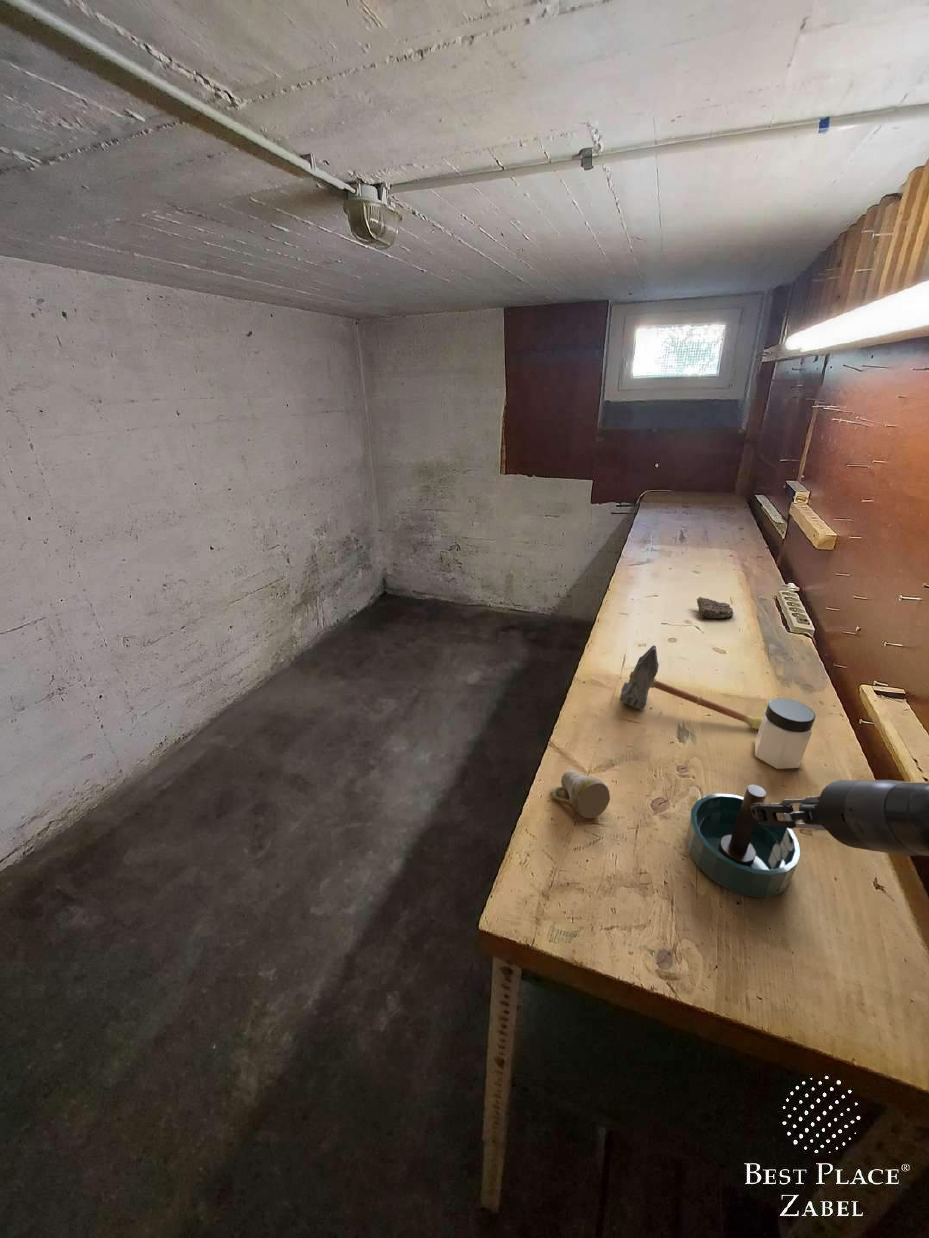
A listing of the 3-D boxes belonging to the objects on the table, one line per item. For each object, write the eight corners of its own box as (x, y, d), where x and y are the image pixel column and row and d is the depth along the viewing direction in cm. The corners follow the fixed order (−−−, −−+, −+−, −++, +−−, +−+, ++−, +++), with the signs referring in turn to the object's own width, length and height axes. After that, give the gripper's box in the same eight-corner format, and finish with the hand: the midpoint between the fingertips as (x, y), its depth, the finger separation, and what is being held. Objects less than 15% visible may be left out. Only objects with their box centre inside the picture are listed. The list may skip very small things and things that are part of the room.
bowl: (723, 805, 90) (730, 781, 87) (810, 871, 78) (821, 845, 75) (664, 840, 84) (670, 815, 81) (749, 918, 71) (759, 892, 69)
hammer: (783, 701, 102) (642, 649, 110) (747, 753, 110) (618, 701, 118) (779, 686, 106) (644, 638, 114) (745, 737, 115) (621, 689, 123)
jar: (808, 760, 100) (826, 713, 95) (787, 776, 96) (805, 728, 91) (765, 736, 107) (779, 691, 102) (744, 750, 103) (757, 704, 98)
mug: (577, 775, 98) (603, 755, 91) (593, 825, 92) (622, 807, 85) (545, 777, 95) (570, 756, 88) (559, 828, 90) (586, 810, 82)
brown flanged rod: (732, 834, 83) (751, 773, 77) (761, 857, 79) (783, 795, 73) (712, 847, 81) (730, 785, 75) (740, 871, 77) (762, 808, 71)
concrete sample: (694, 618, 160) (697, 604, 158) (694, 606, 168) (697, 593, 166) (733, 623, 156) (737, 609, 154) (731, 610, 164) (734, 597, 162)
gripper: (928, 774, 55) (822, 776, 70) (809, 785, 54) (728, 784, 69) (954, 847, 52) (839, 832, 68) (830, 858, 52) (742, 841, 67)
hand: (783, 808), depth 69 cm, fingers open, 8 cm apart
